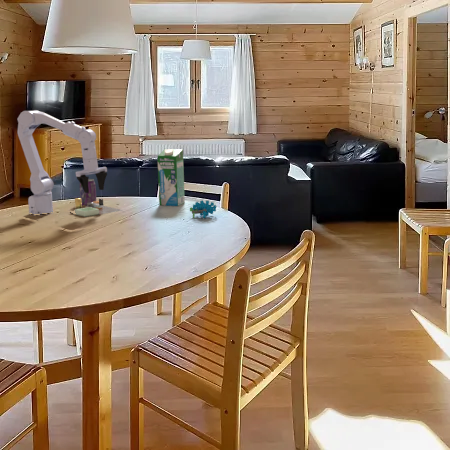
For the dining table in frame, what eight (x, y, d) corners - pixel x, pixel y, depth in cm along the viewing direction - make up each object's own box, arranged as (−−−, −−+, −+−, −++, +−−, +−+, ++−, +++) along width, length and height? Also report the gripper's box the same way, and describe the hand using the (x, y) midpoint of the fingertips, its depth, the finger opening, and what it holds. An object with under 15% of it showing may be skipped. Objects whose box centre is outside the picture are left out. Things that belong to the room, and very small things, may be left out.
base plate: (85, 218, 253) (84, 209, 252) (63, 213, 265) (63, 204, 264) (123, 211, 266) (122, 202, 265) (101, 207, 278) (100, 198, 277)
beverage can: (79, 205, 283) (77, 179, 280) (94, 203, 286) (93, 178, 283) (82, 207, 276) (81, 181, 274) (98, 206, 279) (96, 180, 277)
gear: (218, 211, 256) (213, 197, 248) (218, 223, 253) (213, 209, 244) (193, 214, 258) (187, 201, 250) (193, 226, 255) (186, 213, 247)
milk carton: (159, 205, 279) (157, 150, 274) (166, 201, 288) (164, 148, 282) (177, 206, 277) (175, 150, 271) (184, 202, 285) (183, 148, 280)
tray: (84, 216, 253) (84, 211, 252) (75, 214, 258) (75, 209, 257) (99, 214, 258) (98, 209, 257) (89, 212, 263) (89, 207, 262)
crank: (86, 205, 265) (85, 196, 264) (92, 204, 267) (91, 196, 266) (99, 208, 258) (99, 199, 257) (105, 207, 260) (105, 198, 259)
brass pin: (77, 211, 263) (76, 199, 262) (74, 211, 265) (73, 198, 264) (83, 211, 265) (82, 198, 264) (79, 210, 267) (79, 197, 266)
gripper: (81, 161, 246) (85, 194, 248) (109, 156, 256) (113, 188, 259) (70, 161, 250) (75, 193, 253) (99, 156, 261) (103, 188, 263)
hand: (94, 191), depth 256 cm, fingers open, 7 cm apart
